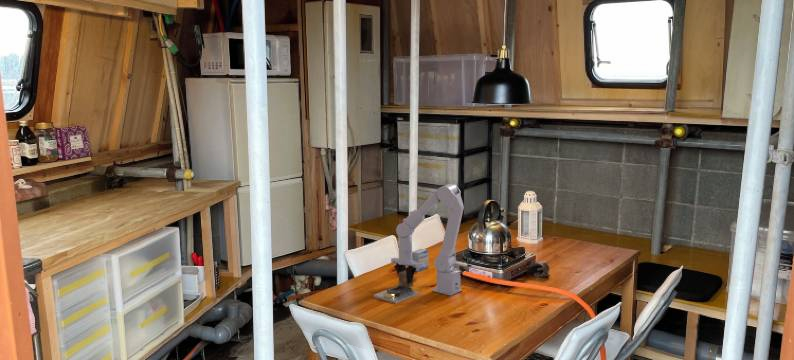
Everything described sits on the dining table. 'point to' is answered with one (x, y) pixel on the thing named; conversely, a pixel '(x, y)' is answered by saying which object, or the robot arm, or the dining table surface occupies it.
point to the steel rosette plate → (396, 294)
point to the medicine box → (421, 258)
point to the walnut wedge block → (404, 279)
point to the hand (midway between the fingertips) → (405, 282)
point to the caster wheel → (539, 269)
